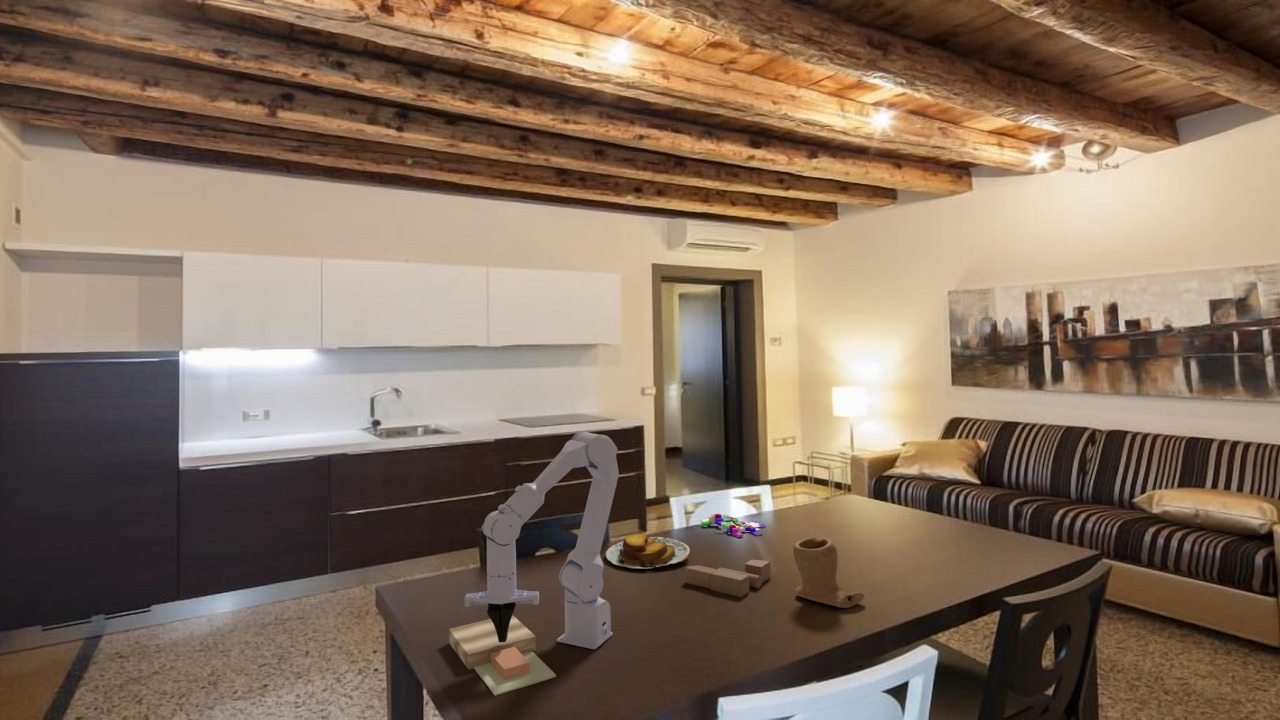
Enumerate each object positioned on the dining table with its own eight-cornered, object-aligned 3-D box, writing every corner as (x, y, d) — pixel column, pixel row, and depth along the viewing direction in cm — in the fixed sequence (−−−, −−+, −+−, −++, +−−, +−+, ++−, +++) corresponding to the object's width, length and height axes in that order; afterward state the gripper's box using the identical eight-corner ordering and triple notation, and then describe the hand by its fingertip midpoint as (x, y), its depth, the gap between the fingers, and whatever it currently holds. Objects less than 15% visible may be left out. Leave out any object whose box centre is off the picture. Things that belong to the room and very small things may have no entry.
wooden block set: (743, 577, 156) (683, 563, 167) (744, 599, 156) (684, 585, 167) (773, 558, 169) (716, 547, 180) (774, 579, 169) (716, 567, 180)
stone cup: (783, 599, 155) (782, 538, 155) (812, 587, 162) (811, 529, 162) (838, 617, 143) (837, 552, 143) (866, 603, 151) (864, 541, 151)
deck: (449, 642, 134) (448, 628, 134) (511, 627, 141) (511, 613, 141) (468, 669, 122) (468, 654, 122) (536, 650, 129) (535, 636, 129)
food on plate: (706, 563, 183) (705, 541, 183) (630, 579, 171) (630, 555, 171) (661, 541, 206) (661, 521, 206) (592, 554, 194) (592, 533, 194)
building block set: (779, 534, 213) (779, 521, 213) (726, 541, 206) (726, 528, 206) (742, 517, 236) (741, 505, 236) (693, 523, 229) (692, 511, 229)
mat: (474, 668, 123) (474, 667, 122) (531, 652, 129) (531, 650, 129) (494, 695, 112) (494, 694, 112) (556, 676, 119) (556, 675, 119)
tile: (490, 663, 124) (490, 653, 124) (514, 656, 127) (514, 646, 127) (504, 680, 117) (504, 669, 117) (529, 672, 120) (529, 662, 120)
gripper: (540, 564, 130) (541, 630, 130) (470, 566, 130) (471, 632, 130) (536, 576, 123) (537, 645, 123) (461, 578, 122) (462, 648, 122)
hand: (503, 640), depth 126 cm, fingers closed
